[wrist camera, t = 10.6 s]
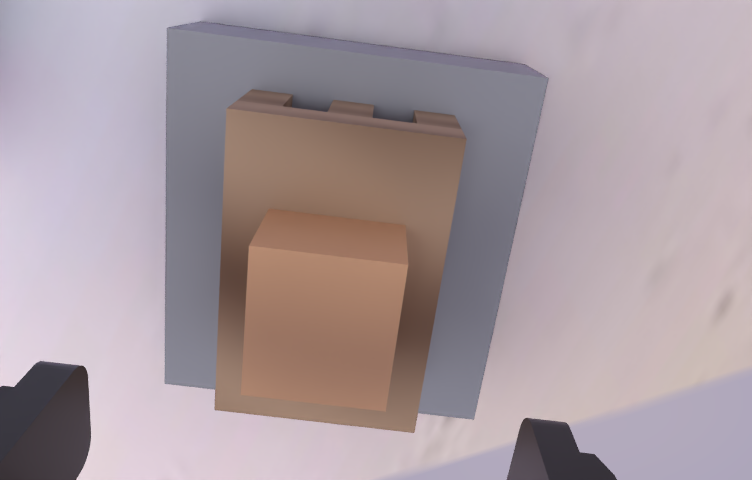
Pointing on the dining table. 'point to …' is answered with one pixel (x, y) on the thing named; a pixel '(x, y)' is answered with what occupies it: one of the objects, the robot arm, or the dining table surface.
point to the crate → (323, 309)
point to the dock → (391, 102)
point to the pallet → (339, 199)
